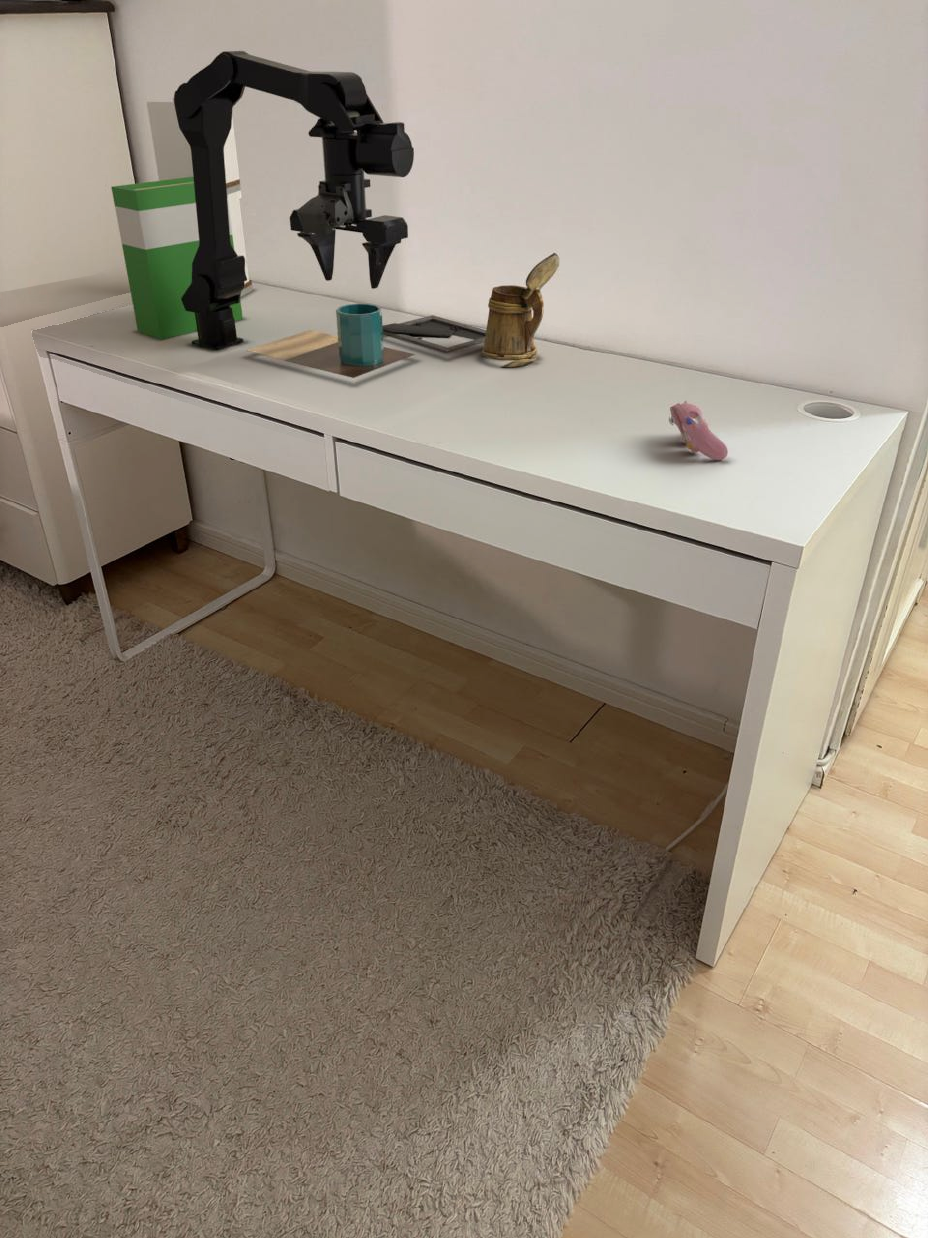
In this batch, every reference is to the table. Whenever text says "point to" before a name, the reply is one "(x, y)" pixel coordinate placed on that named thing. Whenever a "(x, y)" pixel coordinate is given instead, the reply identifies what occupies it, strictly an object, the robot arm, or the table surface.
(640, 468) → the table surface
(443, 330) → the picture frame
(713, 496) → the table surface
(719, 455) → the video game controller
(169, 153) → the tall white box
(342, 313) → the teal cup
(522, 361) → the wooden mug
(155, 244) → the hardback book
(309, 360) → the serving board
